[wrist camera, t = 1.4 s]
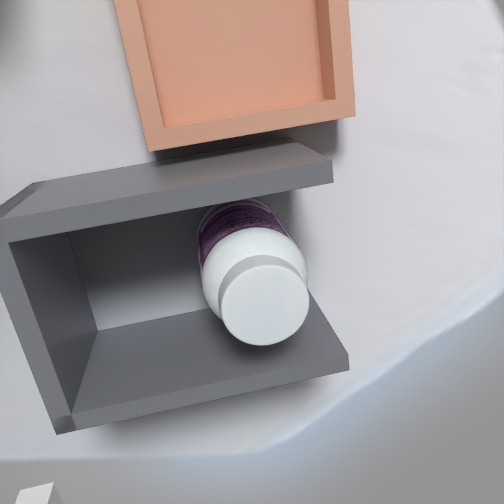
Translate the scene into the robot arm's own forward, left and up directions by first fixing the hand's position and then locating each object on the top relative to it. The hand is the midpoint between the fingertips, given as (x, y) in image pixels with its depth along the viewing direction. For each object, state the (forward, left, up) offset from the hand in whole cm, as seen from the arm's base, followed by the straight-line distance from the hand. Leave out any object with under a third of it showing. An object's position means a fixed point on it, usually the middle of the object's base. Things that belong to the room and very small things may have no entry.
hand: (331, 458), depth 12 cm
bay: (-4, 0, -19) cm, 19 cm away
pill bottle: (0, 0, -19) cm, 19 cm away
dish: (+1, +12, -19) cm, 22 cm away
